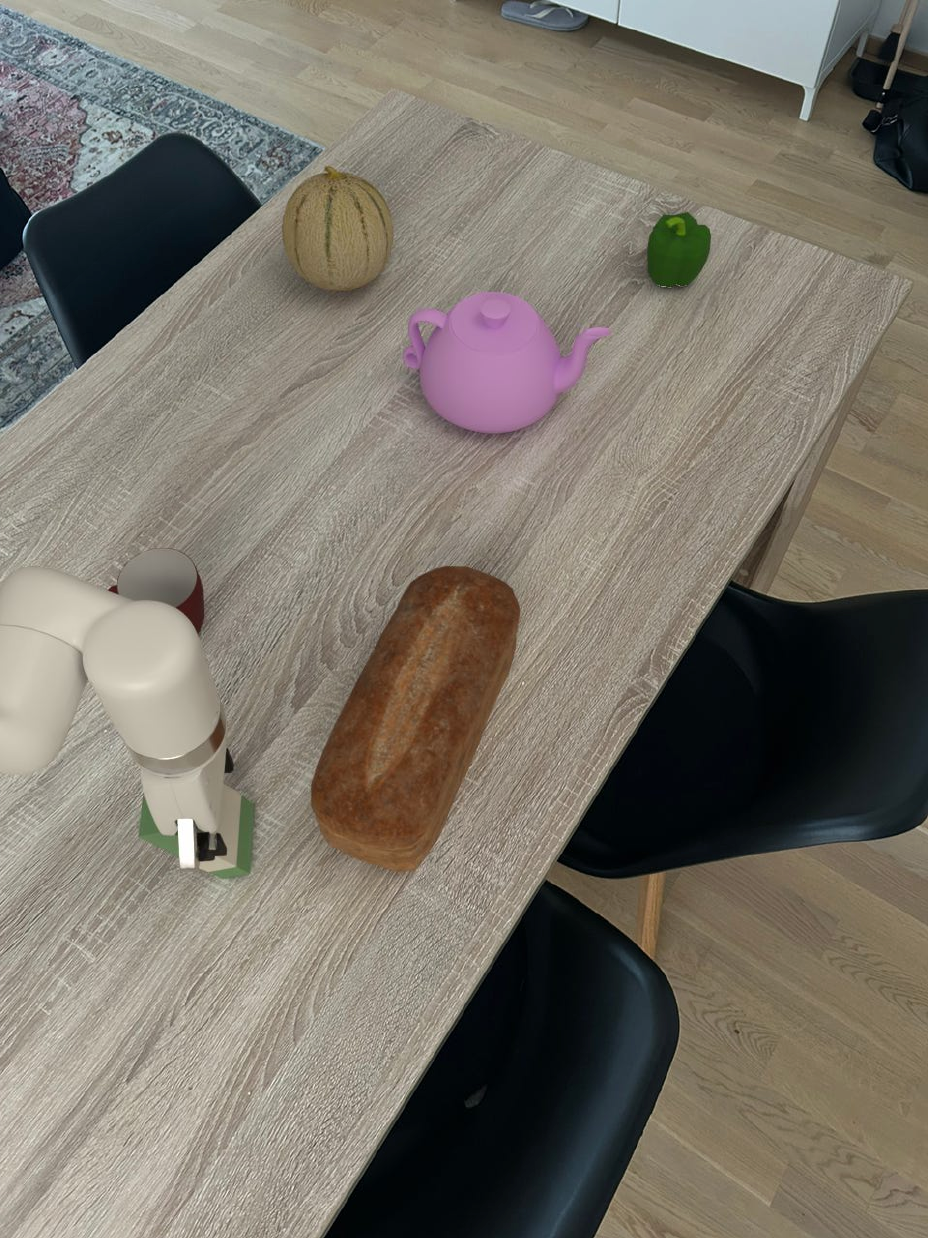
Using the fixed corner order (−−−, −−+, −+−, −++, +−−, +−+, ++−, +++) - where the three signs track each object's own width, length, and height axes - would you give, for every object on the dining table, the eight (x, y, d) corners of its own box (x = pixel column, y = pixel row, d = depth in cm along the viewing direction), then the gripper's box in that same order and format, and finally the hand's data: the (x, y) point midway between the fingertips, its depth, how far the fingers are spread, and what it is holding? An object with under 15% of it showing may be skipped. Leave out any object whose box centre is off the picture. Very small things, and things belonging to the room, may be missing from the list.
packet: (137, 837, 88) (168, 831, 87) (146, 760, 91) (176, 753, 90) (222, 880, 98) (251, 875, 97) (227, 808, 102) (255, 803, 101)
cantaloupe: (321, 329, 137) (309, 233, 124) (269, 265, 143) (252, 168, 130) (417, 288, 141) (414, 192, 128) (362, 228, 148) (355, 130, 135)
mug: (111, 664, 110) (83, 614, 101) (124, 600, 114) (98, 546, 106) (211, 664, 110) (192, 614, 102) (220, 600, 114) (203, 547, 106)
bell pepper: (692, 254, 146) (707, 192, 137) (707, 294, 142) (724, 232, 133) (633, 258, 145) (645, 196, 137) (647, 299, 141) (660, 237, 132)
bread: (301, 850, 100) (283, 796, 88) (425, 599, 115) (423, 525, 103) (418, 896, 97) (415, 848, 86) (529, 635, 113) (539, 564, 101)
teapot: (384, 425, 128) (379, 341, 117) (420, 327, 137) (419, 240, 126) (584, 463, 126) (599, 382, 114) (607, 361, 135) (623, 275, 123)
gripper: (136, 623, 82) (180, 722, 97) (106, 836, 73) (159, 909, 88) (233, 622, 82) (261, 721, 97) (214, 834, 73) (248, 907, 88)
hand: (212, 810), depth 92 cm, fingers closed on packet, 7 cm apart
